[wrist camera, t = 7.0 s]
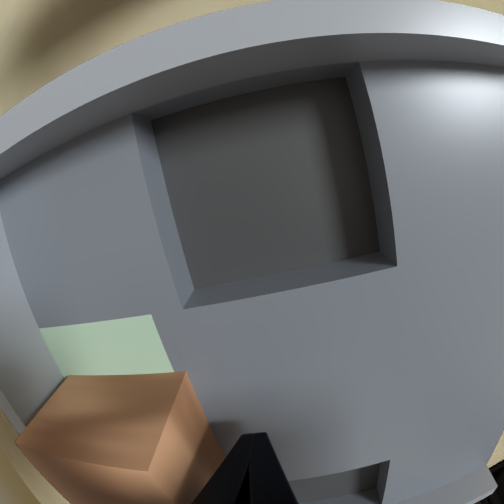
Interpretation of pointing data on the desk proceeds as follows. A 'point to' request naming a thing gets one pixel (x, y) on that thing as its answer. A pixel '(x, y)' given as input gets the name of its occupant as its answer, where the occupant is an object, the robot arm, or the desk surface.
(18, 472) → the desk surface
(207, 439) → the block
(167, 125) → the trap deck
